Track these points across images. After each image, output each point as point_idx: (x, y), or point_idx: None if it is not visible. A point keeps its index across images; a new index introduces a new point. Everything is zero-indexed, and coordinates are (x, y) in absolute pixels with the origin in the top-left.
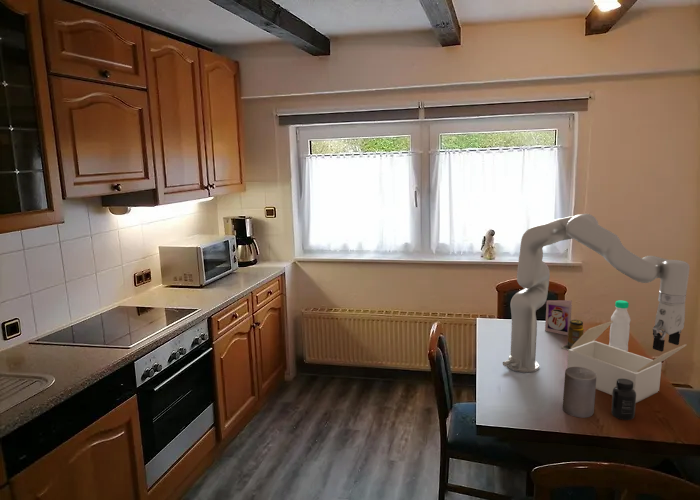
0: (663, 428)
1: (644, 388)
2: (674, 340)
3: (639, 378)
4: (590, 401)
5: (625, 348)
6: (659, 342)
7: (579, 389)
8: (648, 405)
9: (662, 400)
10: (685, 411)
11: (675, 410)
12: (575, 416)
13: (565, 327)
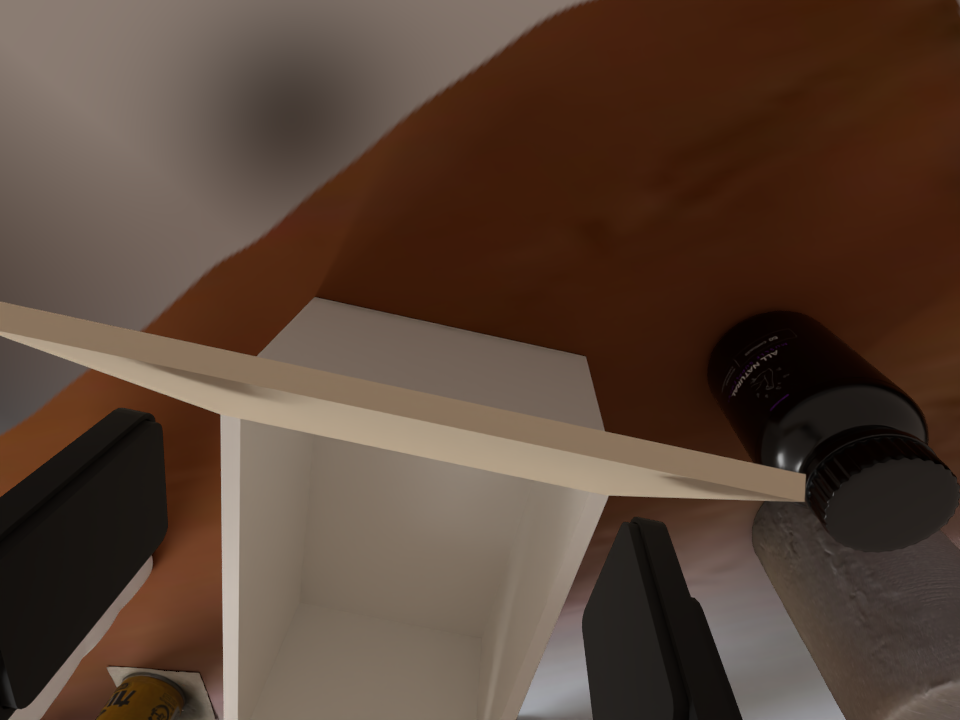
0: (817, 139)
1: (481, 366)
2: (122, 508)
3: None
4: (939, 536)
5: None
6: (738, 717)
7: None
8: (546, 292)
9: (419, 249)
10: (476, 92)
11: (506, 149)
12: None
13: None
